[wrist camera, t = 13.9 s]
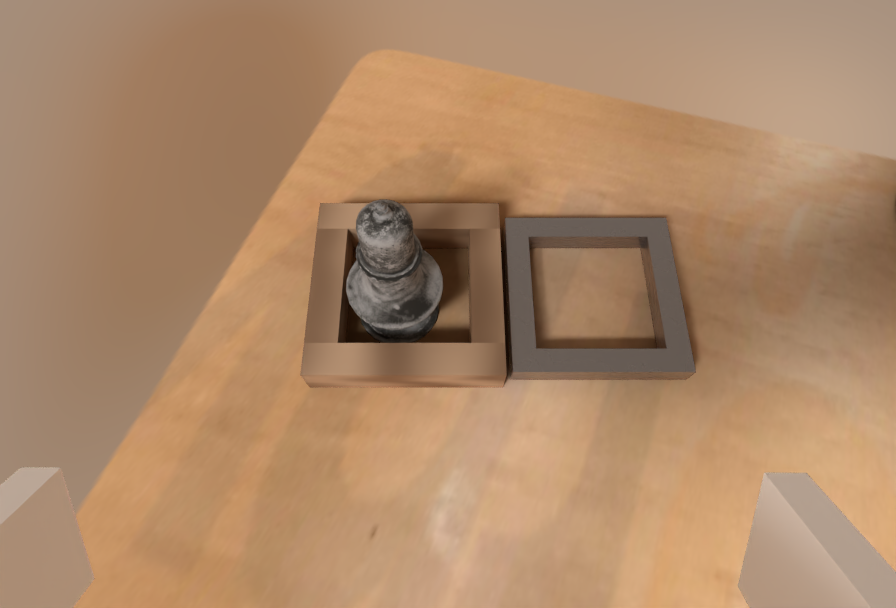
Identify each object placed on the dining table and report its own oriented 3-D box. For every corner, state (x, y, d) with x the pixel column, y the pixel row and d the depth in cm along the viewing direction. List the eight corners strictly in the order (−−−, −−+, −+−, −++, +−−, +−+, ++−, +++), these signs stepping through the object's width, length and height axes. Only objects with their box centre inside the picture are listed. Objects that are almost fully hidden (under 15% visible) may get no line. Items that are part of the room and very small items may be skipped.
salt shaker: (375, 258, 39) (348, 139, 28) (455, 284, 38) (460, 173, 27) (339, 332, 37) (295, 235, 26) (424, 362, 36) (416, 275, 25)
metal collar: (658, 229, 40) (666, 217, 38) (686, 379, 35) (695, 372, 34) (503, 229, 40) (505, 217, 38) (510, 379, 35) (512, 372, 34)
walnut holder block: (495, 223, 40) (498, 203, 38) (502, 387, 35) (506, 374, 33) (327, 223, 40) (319, 203, 38) (309, 387, 35) (300, 375, 33)
